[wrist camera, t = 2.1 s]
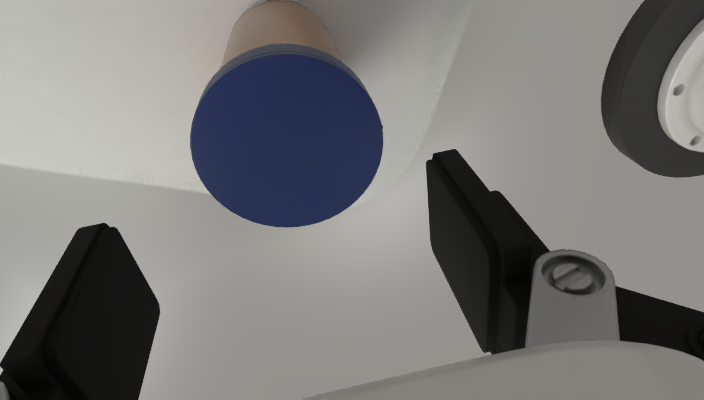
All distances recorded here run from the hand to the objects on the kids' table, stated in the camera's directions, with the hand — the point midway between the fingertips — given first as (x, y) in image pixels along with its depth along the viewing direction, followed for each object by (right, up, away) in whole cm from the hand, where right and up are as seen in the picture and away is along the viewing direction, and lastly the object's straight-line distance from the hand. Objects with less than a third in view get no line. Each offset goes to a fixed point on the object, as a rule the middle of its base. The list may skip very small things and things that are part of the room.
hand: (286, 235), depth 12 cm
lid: (-1, +3, +4) cm, 5 cm away
